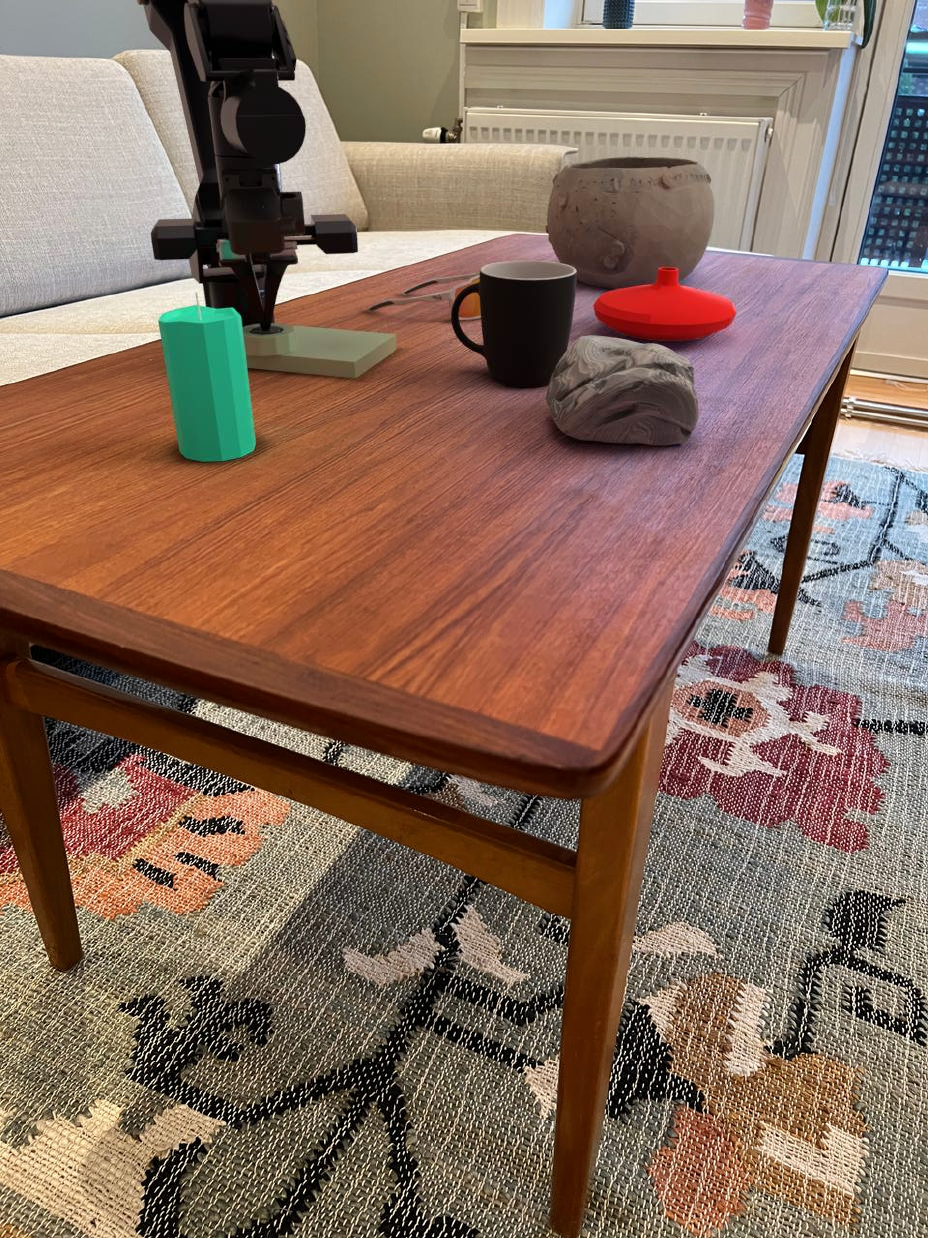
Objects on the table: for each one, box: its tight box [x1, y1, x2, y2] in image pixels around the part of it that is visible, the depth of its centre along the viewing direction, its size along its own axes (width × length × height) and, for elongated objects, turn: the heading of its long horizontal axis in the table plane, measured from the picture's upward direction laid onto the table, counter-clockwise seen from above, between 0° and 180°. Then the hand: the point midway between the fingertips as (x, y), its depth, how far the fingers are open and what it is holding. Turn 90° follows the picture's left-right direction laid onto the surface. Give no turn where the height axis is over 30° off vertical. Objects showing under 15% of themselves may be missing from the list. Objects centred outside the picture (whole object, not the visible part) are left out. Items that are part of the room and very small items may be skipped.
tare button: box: [252, 326, 280, 335], centre depth 93 cm, size 3×3×2 cm
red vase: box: [592, 267, 737, 342], centre depth 103 cm, size 16×16×7 cm
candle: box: [157, 291, 257, 463], centre depth 71 cm, size 6×6×12 cm
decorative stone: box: [545, 334, 700, 446], centre depth 76 cm, size 15×14×10 cm
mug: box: [450, 259, 578, 388], centre depth 88 cm, size 12×9×10 cm
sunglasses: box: [367, 271, 481, 321], centre depth 115 cm, size 14×15×5 cm
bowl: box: [544, 156, 716, 289], centre depth 128 cm, size 23×23×15 cm
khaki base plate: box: [242, 322, 398, 379], centre depth 95 cm, size 13×12×4 cm
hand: (265, 328), depth 92 cm, fingers closed, pressing on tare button
